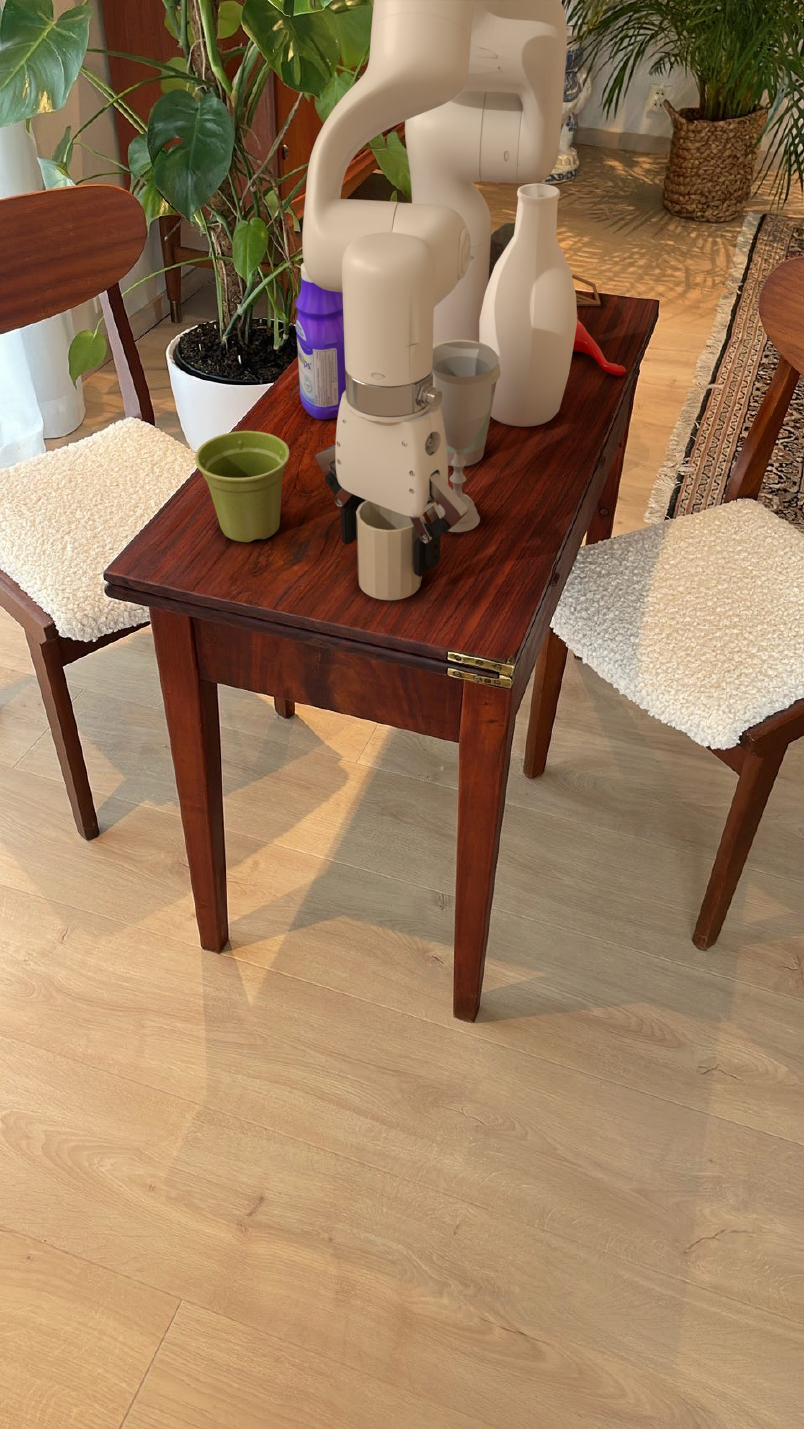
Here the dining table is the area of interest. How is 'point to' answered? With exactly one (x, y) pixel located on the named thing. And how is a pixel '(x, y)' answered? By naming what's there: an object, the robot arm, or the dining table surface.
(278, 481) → the plant pot
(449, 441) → the chalice
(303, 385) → the bottle
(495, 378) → the coffee cup
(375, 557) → the paper cup
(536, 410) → the bottle
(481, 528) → the dining table surface
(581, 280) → the emblem
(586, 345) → the dinosaur
